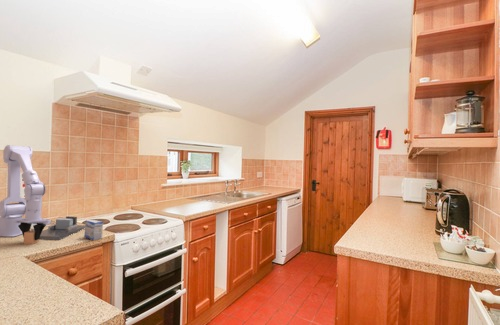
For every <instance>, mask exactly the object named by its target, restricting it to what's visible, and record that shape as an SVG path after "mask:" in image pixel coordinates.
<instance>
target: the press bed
mask: <svg viewBox="0 0 500 325" xmlns="http://www.w3.org/2000/svg"><path fill="white" fill-rule="evenodd" d="M55 228H56V223H55V224H52V225H49V226H48V228H47V229H43V231H42V233H41V235H40V238H39V240H49V241H53V240H55V241H61V240H63V239H65V238H67V237H69V235H70V236H71V234H72V235H74V234H77V233H79V232H81V231H83V230H85V229H84V228H85V224H83V225H81V224H78V223H77V224H74V225H72V226H69V227H66V229H55ZM82 229H83V230H82ZM80 230H81V231H80ZM78 231H79V232H78ZM73 233H74V234H73Z"/></svg>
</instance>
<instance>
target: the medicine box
mask: <svg viewBox="0 0 500 325" xmlns="http://www.w3.org/2000/svg"><path fill="white" fill-rule="evenodd" d="M84 225H85V229H84V238H85V237H86V238H85V239H87V238H89V240H91V239H92V241H97V240H101V239H102V237H103V228H104V227H103V226H104V222H103V221H100V220H96V219H88V220H87V219H86V220H85V224H84Z"/></svg>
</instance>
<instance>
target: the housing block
mask: <svg viewBox="0 0 500 325" xmlns="http://www.w3.org/2000/svg"><path fill="white" fill-rule="evenodd" d="M34 234H35V233H34V228H30V231H27V232H24V237H23V244H25V245H34V244H36V243H39V242H40V239H38V240H35V239H34Z"/></svg>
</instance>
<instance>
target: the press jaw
mask: <svg viewBox="0 0 500 325" xmlns="http://www.w3.org/2000/svg"><path fill="white" fill-rule="evenodd" d="M77 221H78V217H77V216H68V215H67V216H66V217H64V218H63V217H62V218H61V217H59V218H56V219H55V224H56V228H55V229H66V227H69V226H72V225H74V224H77V225H78V223H77Z"/></svg>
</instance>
